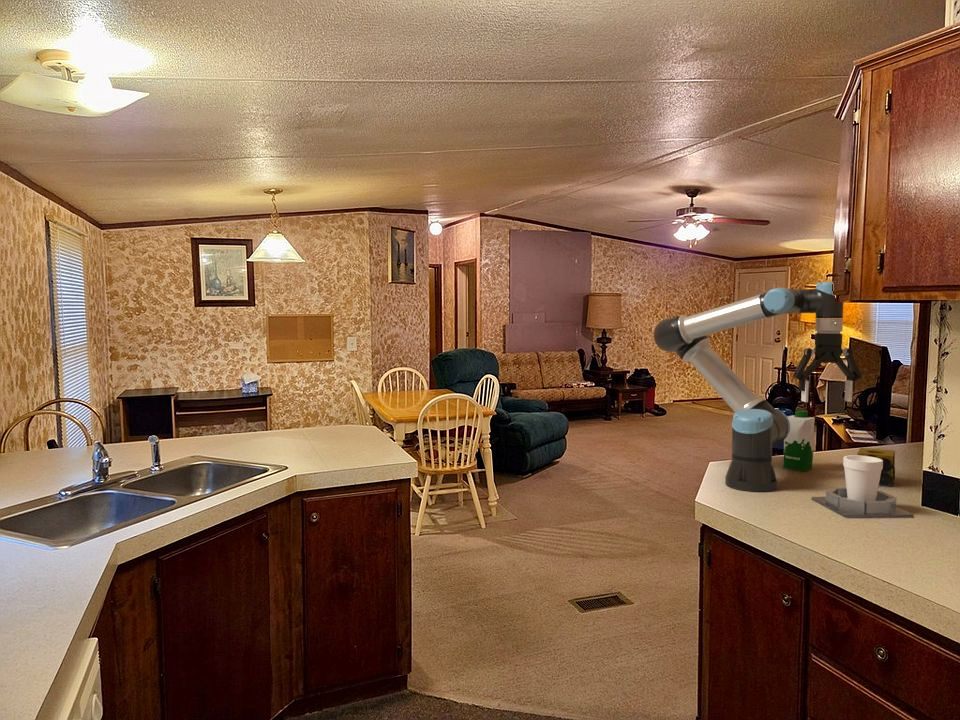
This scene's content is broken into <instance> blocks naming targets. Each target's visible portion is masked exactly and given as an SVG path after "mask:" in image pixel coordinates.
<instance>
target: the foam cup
mask: <svg viewBox="0 0 960 720" xmlns="http://www.w3.org/2000/svg"><path fill="white" fill-rule="evenodd" d="M842 458H843V461H842V463H843V464H842V466H843V469H844V478H845V487H846V488H847V497H848V498H849V499H855V500H861V501H876V496H877V491H879V487H880V485H879V481H880V475H881V470H882V469H883V460H881V459H879V458H875V457H869V456H860V455H858V454H854V455H853V454H852V455H849V454H848V455H845V456H843V457H842Z"/></svg>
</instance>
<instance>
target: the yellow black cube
mask: <svg viewBox="0 0 960 720" xmlns="http://www.w3.org/2000/svg"><path fill="white" fill-rule="evenodd" d="M857 455H860V456H869V457H875V458H879V459H881V460H883V469H882V470H881V475H880V481H879V487H887V488H888V487H891V488H893V487H894V485H895V480H896V467H895V455H896V450H892V449H891V450H890V449H881V448H869V447H867V448H866V447H859V449H858V451H857Z"/></svg>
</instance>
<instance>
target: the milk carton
mask: <svg viewBox="0 0 960 720" xmlns="http://www.w3.org/2000/svg"><path fill="white" fill-rule="evenodd" d="M794 413H795V414H794V415H789V416H788V415H786V416H787V417H788V419H789V422H790V432H789V434H788V436H787V438H786V439H785V440H784V441H783V461H782V463H783V464H782V465H783V466H782V469H785V470H791V471H795V472H796V471H797V472H803V473H804V472H807V471H810V470H811V469H813V459H814V439H815V437H814V435H815V420H816V418H815V417H814V416H813V417H812V416H809V411H808V410H803V409H802V410H801V409H800V410H795V412H794Z"/></svg>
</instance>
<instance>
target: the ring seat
mask: <svg viewBox="0 0 960 720" xmlns="http://www.w3.org/2000/svg"><path fill="white" fill-rule="evenodd" d="M811 500H812V501H814V502H815V503H817V504H819V505H821V506H822V507H825V508H827V509H829V510H830V511H832V512H834V513H836V514H838V515H840V516H842V518H843V517H844V518H846V519H880V518H882V519H883V518H884V519H889V518H890V519H891V518H892V519H893V518H894V519H895V518H897V519H899V518H901V519H902V518H905V519H906V518H911V519H912V518H915V516H914V514H913V513H911V512H909V511H907V510H904V509H902V508H900V507H898V506H897V497H896V496H894V495H892V494H889V493H887V492H884V491H882V490H878V491H877V496H876V501H861V500H855V499H849V498H848V497H847V488H846V486H843V487H842V486H836V487H835V486H834V487H831V488H830V489H827V490H826V491H825V496H811Z"/></svg>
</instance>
